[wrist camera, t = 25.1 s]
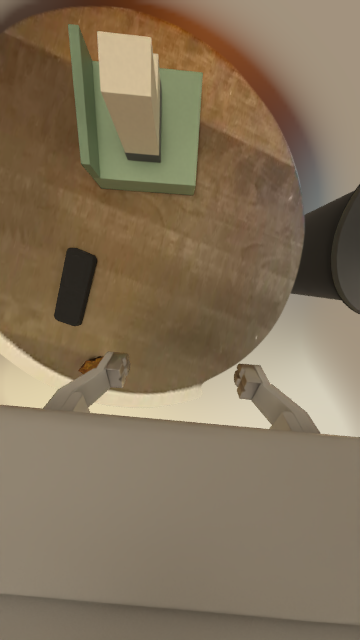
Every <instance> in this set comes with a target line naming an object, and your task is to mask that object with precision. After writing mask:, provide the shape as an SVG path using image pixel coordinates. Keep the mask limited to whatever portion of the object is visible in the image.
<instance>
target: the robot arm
mask: <svg viewBox="0 0 360 640" xmlns="http://www.w3.org/2000/svg"><path fill="white" fill-rule="evenodd" d="M237 369H238V370H237V371H235V374H234V382H235V385H236V386H237V387H238V388H237V392H238V395H239V398H240V399H249V400H252V402H253V403H254V404H255V405H256V407H257V408H258V409H259V410H260V411H261V413H262V414H263V415H264V416H265V417H266V418H267V420H268V421H269V422H270V423H271V424H272V426H271V427H270V429H261V428H250V427H238V426H228V425H217V424H206V423H195V422H184V421H172V420H162V419H150V418H139V417H129V416H117V415H106V414H96V413H90V411H89V409H88V407H89V406H90V405H92V404H93V403H94V402H95V401H96V400H97V399H98V398H99V397H101V396H102V395H103V394H104V393H105V392H106V391H107V390H108V389H110V387H118V388H123V385H124V383H125V380H126V378H125V376H127V375H128V373H129V370H130V361H129V354H127V353H118V352H107V353H106V354H105V355H104V357H103V358H102V360H101V361H100V363H99V365H98V366H97V368H93V369H92V370H90V371H88V372H87V373H85V374H83V375H82V376H80V377H78V378H77V379H75V380H73V381H72V382H70V383H68V384H67V385H65V386H63V387H62V388H60V389H58V390H57V392H56V393H55V394H54V395H53V397H52V398H51V399H50V400H49V402H48V403H47V404H46V406H45V407H44V408H43V409H40V408H30V407H18V406H8V405H0V640H360V437H350V436H338V435H328V434H320V432H319V430H318V429H317V427H316V426H315V424H314V423H313V421H312V419H311V418H310V416H309V415H308V414H307V412H305V410H303V409H302V408H301V407H300V406H298V405H297V404H296V403H295V402H293V401H292V400H291V399H290V398H289V397H287V396H286V395H285V394H283V393H282V392H281V391H280V390H279V389H277V388H276V387H275V386H274V385H272V384H270V383H269V381H268V379H267V377H266V375H265V373H264V371H263V370H262V368H261V366H259V365H249V364H238V366H237Z"/></svg>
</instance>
